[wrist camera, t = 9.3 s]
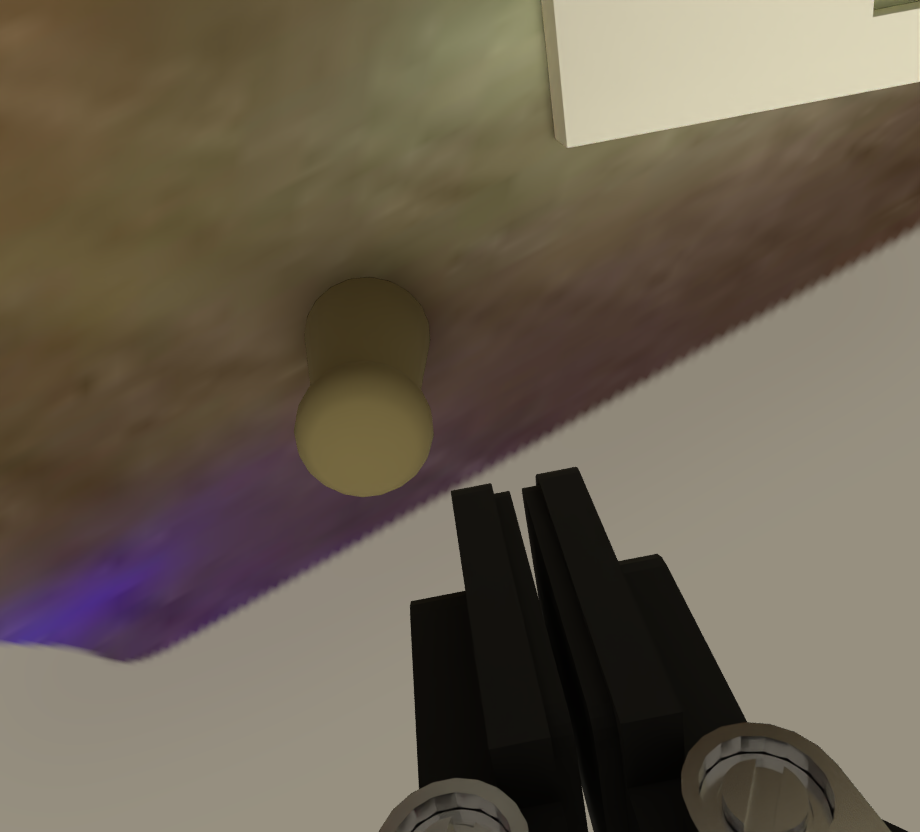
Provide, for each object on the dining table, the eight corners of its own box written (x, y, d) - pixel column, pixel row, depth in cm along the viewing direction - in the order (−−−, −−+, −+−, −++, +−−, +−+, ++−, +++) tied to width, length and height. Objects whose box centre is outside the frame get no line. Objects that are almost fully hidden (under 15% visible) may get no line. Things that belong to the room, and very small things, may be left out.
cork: (449, 302, 37) (473, 408, 27) (404, 408, 40) (412, 539, 30) (327, 258, 36) (307, 352, 26) (288, 371, 38) (257, 496, 28)
